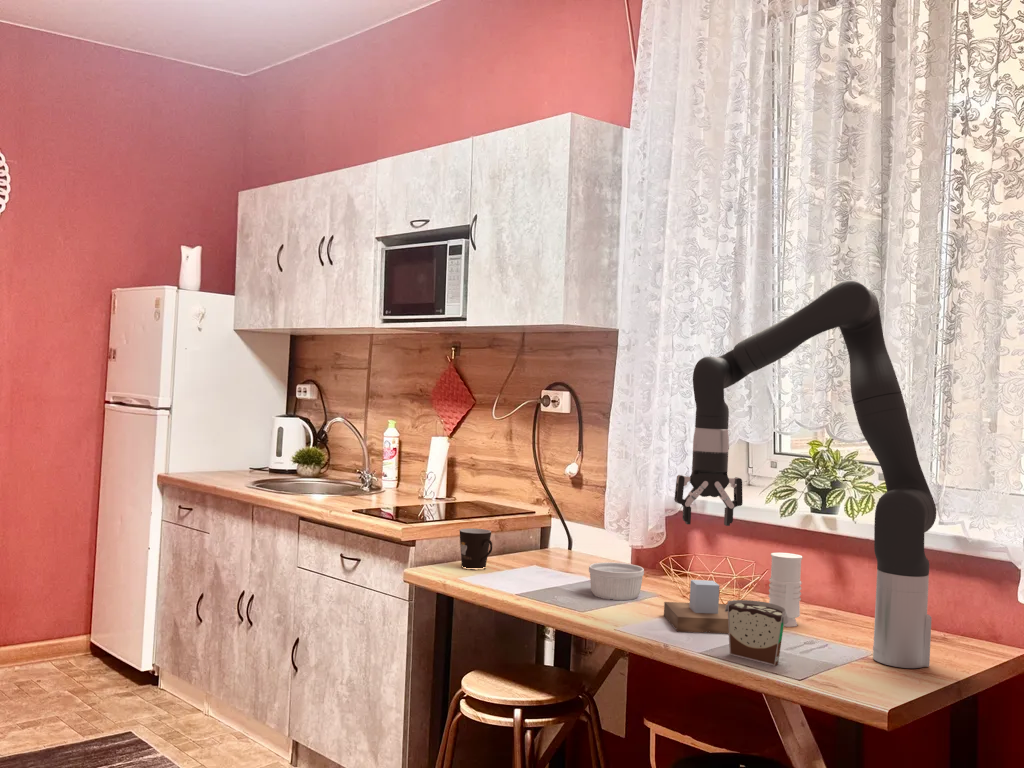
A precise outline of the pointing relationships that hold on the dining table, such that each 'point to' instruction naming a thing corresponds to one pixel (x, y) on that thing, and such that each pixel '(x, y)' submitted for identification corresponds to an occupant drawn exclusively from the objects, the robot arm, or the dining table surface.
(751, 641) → the food container
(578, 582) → the dining table surface
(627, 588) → the ramekin
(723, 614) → the walnut plinth
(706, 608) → the gray block
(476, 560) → the coffee mug
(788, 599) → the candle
